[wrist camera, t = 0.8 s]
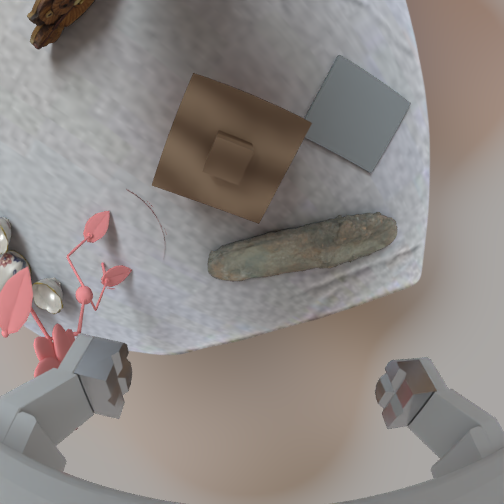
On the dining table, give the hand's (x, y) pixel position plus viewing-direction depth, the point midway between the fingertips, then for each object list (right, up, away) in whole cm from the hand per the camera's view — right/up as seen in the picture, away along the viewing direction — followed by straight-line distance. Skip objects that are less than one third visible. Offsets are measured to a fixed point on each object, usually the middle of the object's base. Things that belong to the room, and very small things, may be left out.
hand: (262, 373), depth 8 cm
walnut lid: (-3, +15, +25) cm, 29 cm away
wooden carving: (-25, +40, +18) cm, 51 cm away
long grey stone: (+9, +5, +45) cm, 46 cm away
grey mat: (+16, +24, +32) cm, 43 cm away
